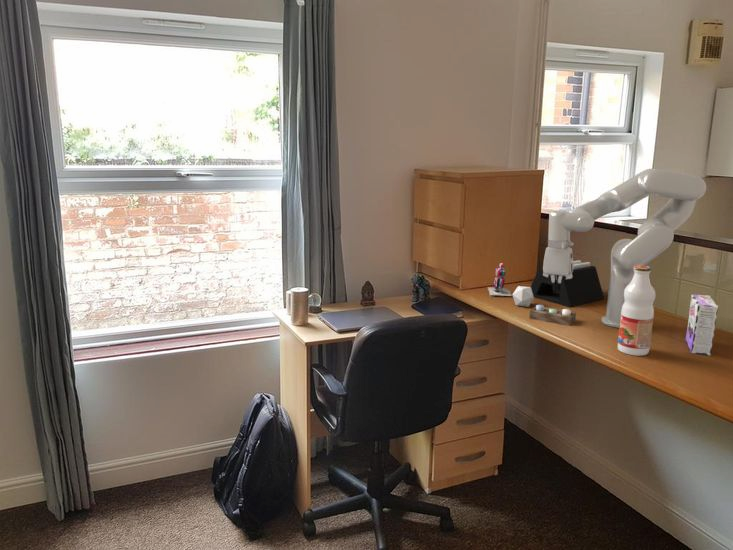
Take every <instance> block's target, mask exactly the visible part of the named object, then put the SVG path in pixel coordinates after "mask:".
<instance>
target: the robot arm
mask: <svg viewBox="0 0 733 550" xmlns="http://www.w3.org/2000/svg"><path fill="white" fill-rule="evenodd" d="M706 192H707V184H706V181H705V180H704V178H701V177H700V176H698V175H694V174H690V173H689V174H688V173H678V172H673V171H667V170H662V169H657V168H647V169H645V170H642V171H640V172H639V173H637V174H635V175H634V176H631V177H630V178H628V179H627V180H626V181H624V182H622V183H620V184H619V185H617V186H615V187H613V188H611V189H609V190H607V191H605V192H604V193H602V194H600V195H598V196H596V197H593V198H592V199H590V200H588V201H587V202H585V203H583V204H582V205H579V206H578V207H576V208H575V209H574V210H572V212H569V211H567V210H553V211H551V212H550V213H549V214H548V215H549V217H548V237H547V238H548V239H547V247H546V248H545V252H544V258H543V265H542V268H543V276H545V277H548V278H549V279H550V280H551V282H552V283H553V286H552V290H554V292H553V293H557V294H558V293H560V291H561V290H562V282H563V281H564V280H565V279H571V278H572V277H573V276H572V273H573V261H574V255H573V254H574V253H573V249H572V247H573V246H574V244H575V243H574V242H572V241H571V232H578V233H585V232H588V231H590V230H591V229H592V228H593V227H594V224H595V221H596V220H598V219H600V218H601V217H603V216H606V215H609V214H611V213H618V212H622V211H624V210H626V209H628V208H629V207H631V206H633V205H635V204H636V203H638V202H640V201H642V200H643V199H646V198H648V197H649V196H651V195H652V196H657V197H662V198H666V199H667V198H668V199H669V200H668V201H667V203H666V204H665V205H664V206H663V207H661V208H660V209H659V210H658V211H657V212H656V213H654V214H653V215H651V217H649V218H648V219H647V220H645V221H644V222H643V223H642V224H640V226H639V227H638V229H637V236H636V237H635V238H633V239H630V238H623V239H619V240H617V241H616V242H615V243H614V244H613V246H612V247H611V251H610V275H609V284H608V292H607V303H606V313H605V316H602V317H601V318H600V319H601V320H600V322H601V324H603V325H606V326H609V327H612V328H617V329H619V328H620V319H621V310H622V305H623V303H624V301H625V300H624V290H625V288H626V287H627V286H628V285H629V284H630V282H631V281H632V279H633V276H634V266H635V265H645V266H647V264H649V263H650V262H651V261H653V260H654V259H656V257H657V258H658V256H659V255H660V254H662V253H663V252H664V251H665V250H667V249H668V248H669V247H670V246H671V244H672V242H673V241H674V236H675V235H674V231H676V230H677V229H678V228H679V227H680V226H681V225H683V224H684V223H685V222H687V220H688V219H689V217H691V215H692V213H693V211H694V210H695V209H694V208H695V207H696V206H695V205H696V201H697V200H699V199H700V198H702V197H704V195H705V194H706ZM556 275H559V278H558V281H557V277H556Z"/></svg>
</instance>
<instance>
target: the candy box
mask: <svg viewBox="0 0 733 550" xmlns="http://www.w3.org/2000/svg"><path fill="white" fill-rule="evenodd" d="M688 311H689V312H688V319H687V329H686V334H685V343H686V344H687V346H688V349H689V351H690V353H691V354H695V355H696V354H697V355H703V356H704V355H705V356H711V355H712V348H713V342H714V337H715V331H716V330H715V329H716V325H717V316H718V313H719V312H718V311H719V306H718V305H717V304H716V302H715V301H714V299H713V298H712V297H711V295H708V294H707V295H706V294H695V293H694V294H693V293H692V294H691V297H690V305H689V310H688Z"/></svg>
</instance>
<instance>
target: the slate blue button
mask: <svg viewBox="0 0 733 550" xmlns="http://www.w3.org/2000/svg"><path fill="white" fill-rule="evenodd" d="M535 307H536V310H537V311H544V307H545V305H543V304H536V305H535Z"/></svg>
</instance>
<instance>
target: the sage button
mask: <svg viewBox="0 0 733 550" xmlns="http://www.w3.org/2000/svg"><path fill="white" fill-rule="evenodd" d="M557 309H558V308H552V309H549V313H555V314H557Z"/></svg>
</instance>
